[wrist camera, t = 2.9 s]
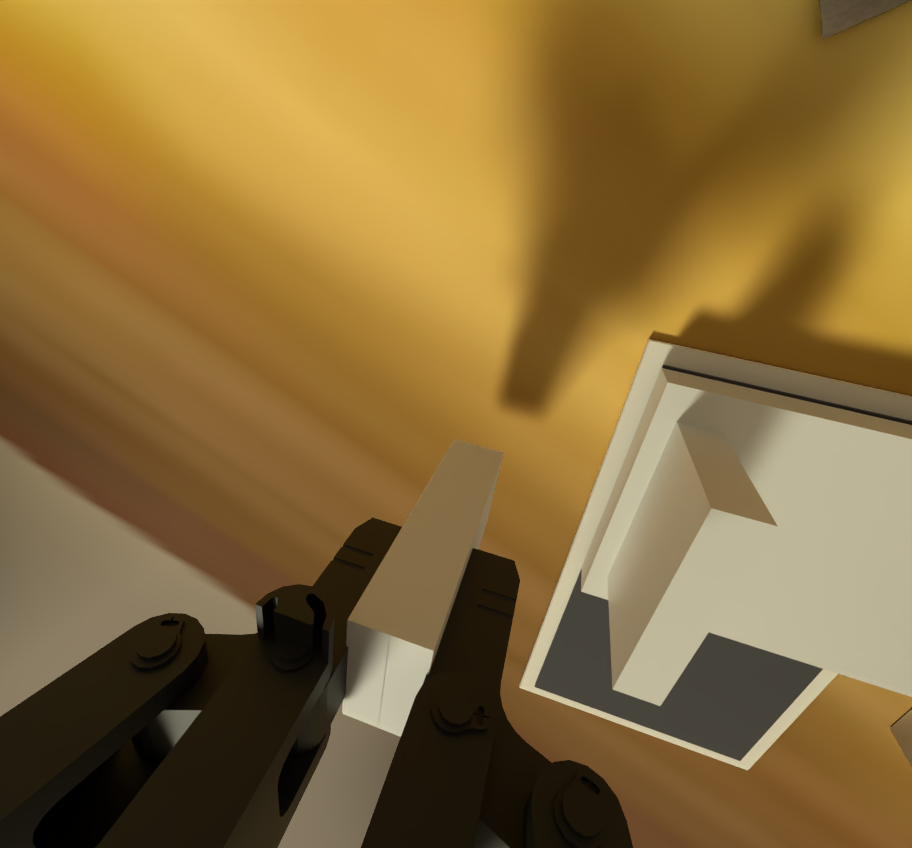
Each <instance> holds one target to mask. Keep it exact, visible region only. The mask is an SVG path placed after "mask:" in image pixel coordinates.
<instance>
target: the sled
mask: <svg viewBox="0 0 912 848" xmlns="http://www.w3.org/2000/svg"><path fill="white" fill-rule="evenodd" d="M581 592H584V593H587V594H590V595H593V596H597V597H600V598H603V599H606V600H608V602H609V625H610V647H611V669H612V689H613V690H616V691H618V692H621V693H624V694H627V695H630V696H633V697H636V698H638V699H641V700H644V701H647V702H650V703H653V704H655V705H658V706H661V704H662V703H663V701H664V700H665V698H666V697H667V695H668V694H669V692H670V691H671V689H672V688H673V686H674V685H675V683H676V682H677V680H678V678H679V677H680V675H681V674H682V672H683V671H684V669H685V668H686V666H687V665H688V663H689V662H690V660H691V659H692V657H693V656H694V654H695V653H696V651H697V649H698V648H699V646H700V645H701V643H702V642H703V640H704V639H705V637H706V636H707V634H708V633H713V634H716V635H719V636H722V637H725V638H728V639H731V640H734V641H738V642H741V643H744V644H747V645H750V646H753V647H756V648H760V649H763V650H766V651H769V652H772V653H775V654H778V655H782V656H785V657H788V658H791V659H794V660H797V661H800V662H803V663H807V664H810V665H813V666H816V667H819V668H822V669H825V670H829V671H832V672H835V673H838V674H841V675H844V676H847V677H851V678H854V679H857V680H860V681H863V682H866V683H869V684H872V685H876V686H879V687H882V688H885V689H888V690H891V691H894V692H898V693H901V694H904V695H907V696H910V697H912V425H909V424H905V423H900V422H896V421H891V420H887V419H883V418H878V417H874V416H870V415H865V414H861V413H856V412H852V411H848V410H843V409H839V408H835V407H830V406H826V405H821V404H817V403H813V402H808V401H804V400H800V399H795V398H791V397H786V396H782V395H778V394H773V393H769V392H764V391H760V390H756V389H751V388H747V387H743V386H738V385H734V384H729V383H725V382H721V381H716V380H712V379H708V378H703V377H699V376H694V375H690V374H686V373H681V372H677V371H672V370H668V369H664V368H661V370H660V373H659V375H658V378H657V380H656V383H655V385H654V388H653V390H652V393H651V395H650V398H649V400H648V403H647V405H646V408H645V410H644V413H643V415H642V418H641V420H640V423H639V425H638V428H637V430H636V433H635V435H634V438H633V440H632V443H631V445H630V448H629V450H628V453H627V455H626V458H625V460H624V463H623V465H622V468H621V470H620V473H619V475H618V478H617V480H616V483H615V485H614V488H613V490H612V493H611V495H610V498H609V500H608V503H607V505H606V508H605V510H604V513H603V515H602V518H601V520H600V523H599V525H598V528H597V530H596V533H595V535H594V538H593V540H592V543H591V545H590V548H589V550H588V553H587V555H586V558H585V560H584V563H583V565H582V573H581Z"/></svg>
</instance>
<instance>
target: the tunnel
mask: <svg viewBox="0 0 912 848" xmlns="http://www.w3.org/2000/svg"><path fill="white" fill-rule="evenodd" d="M890 730H891V731H892V733H893V735H894V737H895V738H896V740H897V742H898V744H899V745H900V747H901V749H902V751H903V752H904V754H905V756H906V758H907V759H908V761H909V763H910V765H911V766H912V709H911V710H910V711H909V712H908V713H906V714H905V715H904V716H903V717H902V718H901V719H900V720H899V721H897V722H896V723H895V724H894V725H893V726H892V727H891V728H890Z"/></svg>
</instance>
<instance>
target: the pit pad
mask: <svg viewBox="0 0 912 848" xmlns="http://www.w3.org/2000/svg"><path fill="white" fill-rule="evenodd" d="M661 368H664V369H668V370H672V371H677V372H681V373H686V374H690V375H694V376H699V377H703V378H708V379H712V380H716V381H721V382H725V383H729V384H734V385H738V386H743V387H747V388H751V389H756V390H760V391H764V392H769V393H773V394H778V395H782V396H786V397H791V398H795V399H800V400H804V401H808V402H813V403H817V404H821V405H826V406H830V407H835V408H839V409H843V410H848V411H852V412H856V413H861V414H865V415H870V416H874V417H878V418H883V419H887V420H891V421H896V422H900V423H905V424H909V425H912V396H909V395H904V394H900V393H895V392H891V391H886V390H882V389H877V388H872V387H868V386H863V385H859V384H854V383H849V382H845V381H840V380H836V379H831V378H827V377H822V376H817V375H813V374H808V373H804V372H799V371H795V370H790V369H785V368H781V367H776V366H772V365H767V364H763V363H758V362H753V361H749V360H744V359H740V358H735V357H731V356H726V355H721V354H717V353H712V352H708V351H703V350H699V349H694V348H689V347H685V346H680V345H676V344H671V343H667V342H662V341H657V340H653V339H648V342H647V344H646V347H645V350H644V352H643V355H642V358H641V360H640V363H639V366H638V369H637V371H636V374H635V377H634V379H633V382H632V385H631V387H630V390H629V393H628V395H627V398H626V401H625V403H624V406H623V409H622V411H621V414H620V417H619V419H618V422H617V425H616V428H615V430H614V433H613V436H612V438H611V441H610V444H609V446H608V449H607V452H606V454H605V457H604V460H603V462H602V465H601V468H600V470H599V473H598V476H597V478H596V481H595V484H594V487H593V489H592V492H591V495H590V497H589V500H588V503H587V505H586V508H585V511H584V513H583V516H582V519H581V521H580V524H579V527H578V529H577V532H576V535H575V537H574V540H573V543H572V546H571V548H570V551H569V554H568V556H567V559H566V562H565V564H564V567H563V570H562V572H561V575H560V578H559V580H558V583H557V586H556V588H555V591H554V594H553V596H552V599H551V602H550V605H549V607H548V610H547V613H546V615H545V618H544V621H543V623H542V626H541V629H540V631H539V634H538V637H537V639H536V642H535V645H534V647H533V650H532V653H531V656H530V658H529V661H528V664H527V666H526V669H525V672H524V674H523V677H522V680H521V682H520V687H519V688H522V689H525V690H528V691H530V692H533V693H536V694H539V695H541V696H544V697H547V698H550V699H552V700H555V701H558V702H561V703H563V704H566V705H569V706H572V707H574V708H577V709H580V710H583V711H585V712H588V713H591V714H594V715H596V716H599V717H602V718H605V719H607V720H610V721H613V722H616V723H618V724H621V725H624V726H627V727H629V728H632V729H635V730H638V731H640V732H643V733H646V734H649V735H651V736H654V737H657V738H660V739H662V740H665V741H668V742H671V743H673V744H676V745H679V746H682V747H684V748H687V749H690V750H693V751H696V752H698V753H701V754H704V755H707V756H709V757H712V758H715V759H718V760H720V761H723V762H726V763H729V764H731V765H734V766H737V767H740V768H742V769H745V770H749V768H750V767H751V766H752V765H753V764H754V763H755V762H756V761H757V760H758V759H759V758H760V757H761V756H762V755H763V754H764V752H765V751H766V750H767V749H768V748H769V747H770V746H771V745H772V744H773V743H774V742H775V741H776V740H777V739H778V737H779V736H780V735H781V734H782V733H783V732H784V731H785V730H786V729H787V728H788V727H789V726H790V725H791V724H792V722H793V721H794V720H795V719H796V718H797V717H798V716H799V715H800V714H801V713H802V712H803V711H804V710H805V709H806V707H807V706H808V705H809V704H810V703H811V702H812V701H813V700H814V699H815V698H816V697H817V696H818V695H819V694H820V692H821V691H822V690H823V689H824V688H825V687H826V686H827V685H828V684H829V683H830V682H831V681H832V680H833V679H834V678H835V676H836V675H837V674H838V673H835V672H832V671H829V670H825V669H822V668H819V667H816V666H813V665H810V664H807V663H803V662H800V661H797V660H794V659H791V658H788V657H785V656H782V655H778V654H775V653H772V652H769V651H766V650H763V649H760V648H756V647H753V646H750V645H747V644H744V643H741V642H738V641H734V640H731V639H728V638H725V637H722V636H719V635H716V634H713V633H708V634H707V636H706V637H705V639H704V640H703V642H702V643H701V645H700V646H699V648H698V649H697V651H696V653H695V654H694V656H693V657H692V659H691V660H690V662H689V663H688V665H687V666H686V668H685V669H684V671H683V672H682V674H681V675H680V677H679V678H678V680H677V682H676V683H675V685H674V686H673V688H672V689H671V691H670V692H669V694H668V695H667V697H666V698H665V700H664V701H663V703H662V704H661V706H658V705H655V704H653V703H650V702H647V701H644V700H641V699H638V698H636V697H633V696H630V695H627V694H624V693H621V692H618V691H616V690H613V689H612V669H611V647H610V625H609V602H608V600H606V599H603V598H600V597H597V596H593V595H590V594H587V593H584V592H581V573H582V565H583V563H584V560H585V558H586V555H587V553H588V550H589V548H590V545H591V543H592V540H593V538H594V535H595V533H596V530H597V528H598V525H599V523H600V520H601V518H602V515H603V513H604V510H605V508H606V505H607V503H608V500H609V498H610V495H611V493H612V490H613V488H614V485H615V483H616V480H617V478H618V475H619V473H620V470H621V468H622V465H623V463H624V460H625V458H626V455H627V453H628V450H629V448H630V445H631V443H632V440H633V438H634V435H635V433H636V430H637V428H638V425H639V423H640V420H641V418H642V415H643V413H644V410H645V408H646V405H647V403H648V400H649V398H650V395H651V393H652V390H653V388H654V385H655V383H656V380H657V378H658V375H659V373H660V370H661Z"/></svg>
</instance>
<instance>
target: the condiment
mask: <svg viewBox="0 0 912 848" xmlns="http://www.w3.org/2000/svg"><path fill="white" fill-rule="evenodd" d="M908 1H910V0H820V9H821V22H822V35H823V39H825V38H828V37H830V36H832V35H835V34H837V33H839V32H841V31H843V30H846V29H848V28H850V27H852V26H855V25H857V24H859V23H861V22H863V21H865V20H867V19H868V18H871V17H874V16H877V15H879V14H881V13H884V12H886V11H888V10H890V9H892V8H894V7H897V6H899V5H901V4H903V3H905V2H908Z"/></svg>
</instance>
